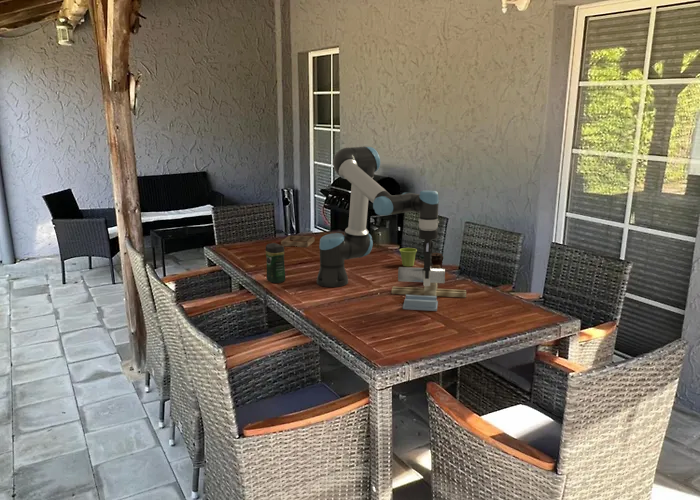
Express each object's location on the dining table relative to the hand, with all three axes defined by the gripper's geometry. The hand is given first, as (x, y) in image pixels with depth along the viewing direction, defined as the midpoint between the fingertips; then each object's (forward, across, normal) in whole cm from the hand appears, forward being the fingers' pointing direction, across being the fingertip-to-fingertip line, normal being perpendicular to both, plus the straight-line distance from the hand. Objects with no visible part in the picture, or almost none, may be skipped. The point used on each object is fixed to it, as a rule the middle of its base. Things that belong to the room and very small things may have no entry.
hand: (427, 283), depth 233 cm
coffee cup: (+10, +40, -1) cm, 41 cm away
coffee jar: (+10, +26, +75) cm, 80 cm away
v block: (+10, 0, +3) cm, 11 cm away
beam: (+10, +17, -1) cm, 20 cm away
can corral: (+9, +107, +87) cm, 138 cm away
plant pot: (+10, +65, +14) cm, 67 cm away
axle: (-3, 0, +2) cm, 4 cm away
